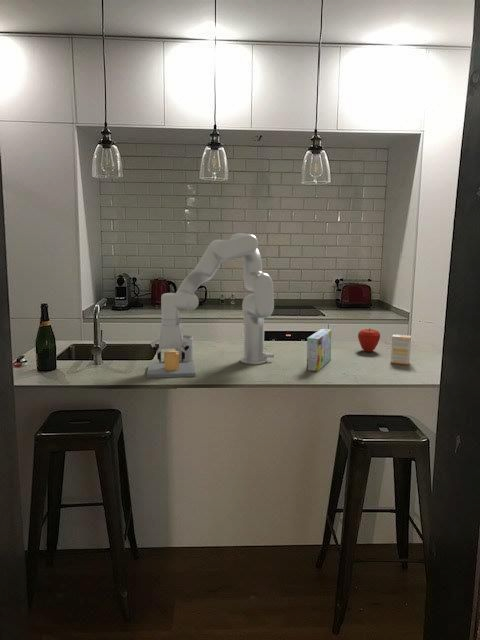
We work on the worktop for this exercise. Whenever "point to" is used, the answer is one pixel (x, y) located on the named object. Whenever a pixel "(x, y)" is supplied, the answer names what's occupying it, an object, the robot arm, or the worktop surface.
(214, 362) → the worktop surface
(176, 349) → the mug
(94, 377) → the worktop surface
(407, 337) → the supplement box
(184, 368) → the base
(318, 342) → the snack box
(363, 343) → the apple
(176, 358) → the orange cylinder
